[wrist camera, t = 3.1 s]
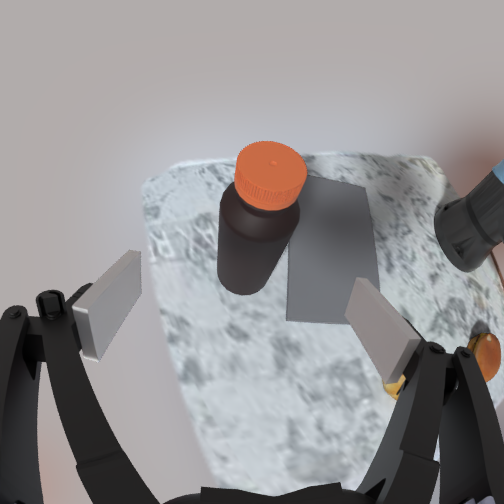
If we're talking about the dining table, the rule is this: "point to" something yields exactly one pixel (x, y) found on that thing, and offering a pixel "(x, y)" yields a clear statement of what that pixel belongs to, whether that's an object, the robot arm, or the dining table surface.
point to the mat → (329, 251)
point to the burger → (486, 354)
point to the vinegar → (258, 215)
